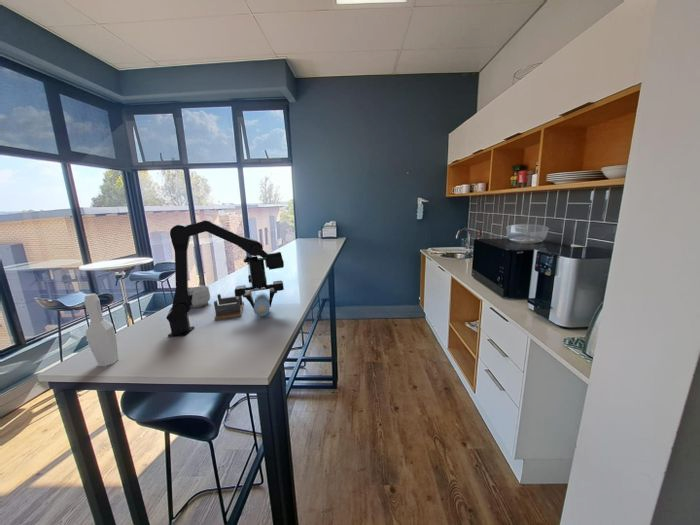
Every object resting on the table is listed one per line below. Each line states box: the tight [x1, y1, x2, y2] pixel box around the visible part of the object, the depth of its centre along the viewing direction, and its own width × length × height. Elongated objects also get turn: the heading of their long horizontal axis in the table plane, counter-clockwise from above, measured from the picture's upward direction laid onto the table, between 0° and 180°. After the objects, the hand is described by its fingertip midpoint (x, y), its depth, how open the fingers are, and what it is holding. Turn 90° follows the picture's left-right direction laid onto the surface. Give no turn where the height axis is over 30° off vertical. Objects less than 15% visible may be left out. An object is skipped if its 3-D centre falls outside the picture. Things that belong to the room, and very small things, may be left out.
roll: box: [253, 292, 271, 317], centre depth 113 cm, size 12×6×6 cm, turn 17°
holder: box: [213, 293, 245, 321], centre depth 119 cm, size 16×10×7 cm, turn 17°
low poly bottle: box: [83, 293, 119, 367], centre depth 82 cm, size 6×6×22 cm
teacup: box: [189, 284, 211, 309], centre depth 130 cm, size 14×11×8 cm
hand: (262, 307), depth 113 cm, fingers closed on roll, 6 cm apart
